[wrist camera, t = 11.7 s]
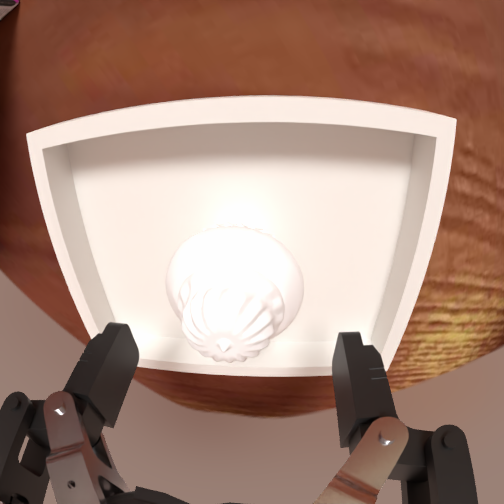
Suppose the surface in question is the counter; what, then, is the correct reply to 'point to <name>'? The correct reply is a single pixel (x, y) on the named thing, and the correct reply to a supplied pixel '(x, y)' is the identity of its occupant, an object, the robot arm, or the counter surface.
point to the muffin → (233, 290)
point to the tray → (248, 214)
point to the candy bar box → (7, 7)
